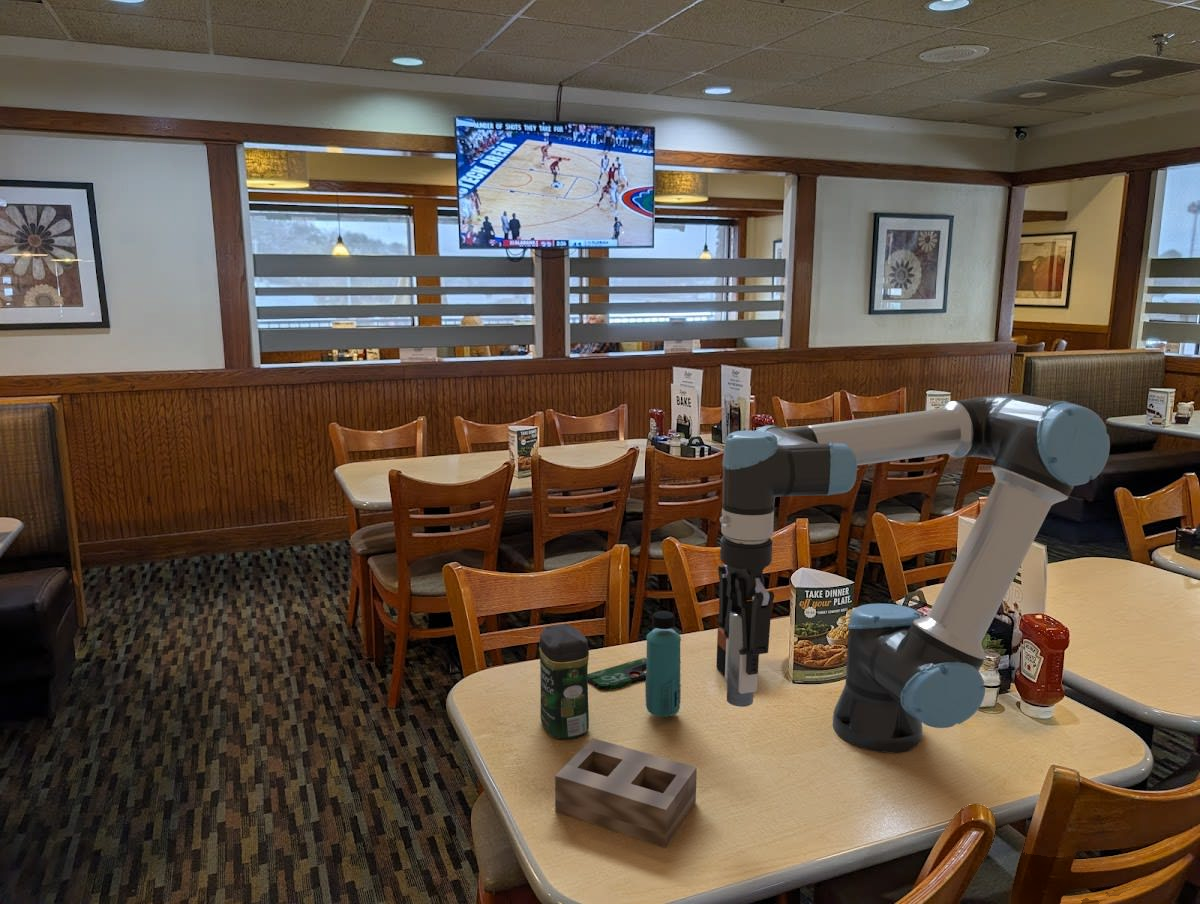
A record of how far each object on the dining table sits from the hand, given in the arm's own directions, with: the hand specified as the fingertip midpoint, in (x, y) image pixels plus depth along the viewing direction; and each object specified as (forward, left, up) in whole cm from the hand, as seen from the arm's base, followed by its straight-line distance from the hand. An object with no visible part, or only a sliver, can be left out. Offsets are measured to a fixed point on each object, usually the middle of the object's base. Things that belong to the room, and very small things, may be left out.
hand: (740, 684), depth 128 cm
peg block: (+14, +11, -19) cm, 26 cm away
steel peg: (0, 0, -3) cm, 3 cm away
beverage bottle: (+20, -17, -19) cm, 32 cm away
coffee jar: (+34, -5, -19) cm, 39 cm away
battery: (+14, -41, -19) cm, 47 cm away
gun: (+32, -28, -19) cm, 47 cm away
